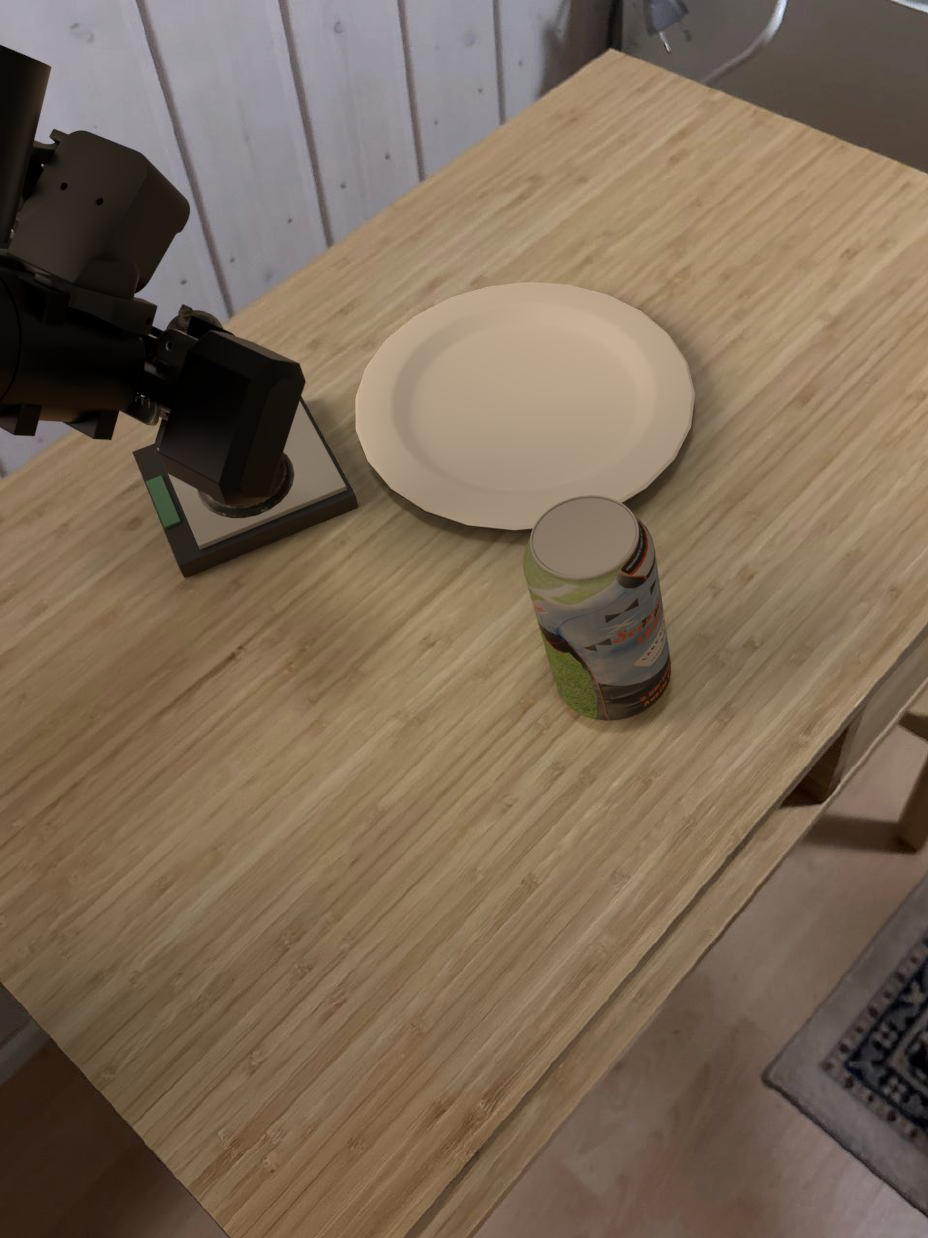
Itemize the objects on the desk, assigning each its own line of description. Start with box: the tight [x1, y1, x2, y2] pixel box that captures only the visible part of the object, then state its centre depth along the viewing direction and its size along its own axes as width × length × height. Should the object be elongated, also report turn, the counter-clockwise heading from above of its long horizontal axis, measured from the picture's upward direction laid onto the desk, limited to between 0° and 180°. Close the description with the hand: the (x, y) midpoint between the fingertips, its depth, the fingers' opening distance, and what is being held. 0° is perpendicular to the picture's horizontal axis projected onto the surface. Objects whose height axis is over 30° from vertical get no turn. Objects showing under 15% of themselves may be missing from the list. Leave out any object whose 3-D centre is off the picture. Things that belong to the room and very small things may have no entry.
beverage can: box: [522, 495, 672, 722], centre depth 55 cm, size 6×7×12 cm
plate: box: [354, 281, 696, 533], centre depth 71 cm, size 21×21×2 cm
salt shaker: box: [165, 303, 294, 518], centre depth 57 cm, size 6×6×12 cm
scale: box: [132, 395, 359, 579], centre depth 69 cm, size 11×10×2 cm
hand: (232, 374), depth 57 cm, fingers closed on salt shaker, 3 cm apart
